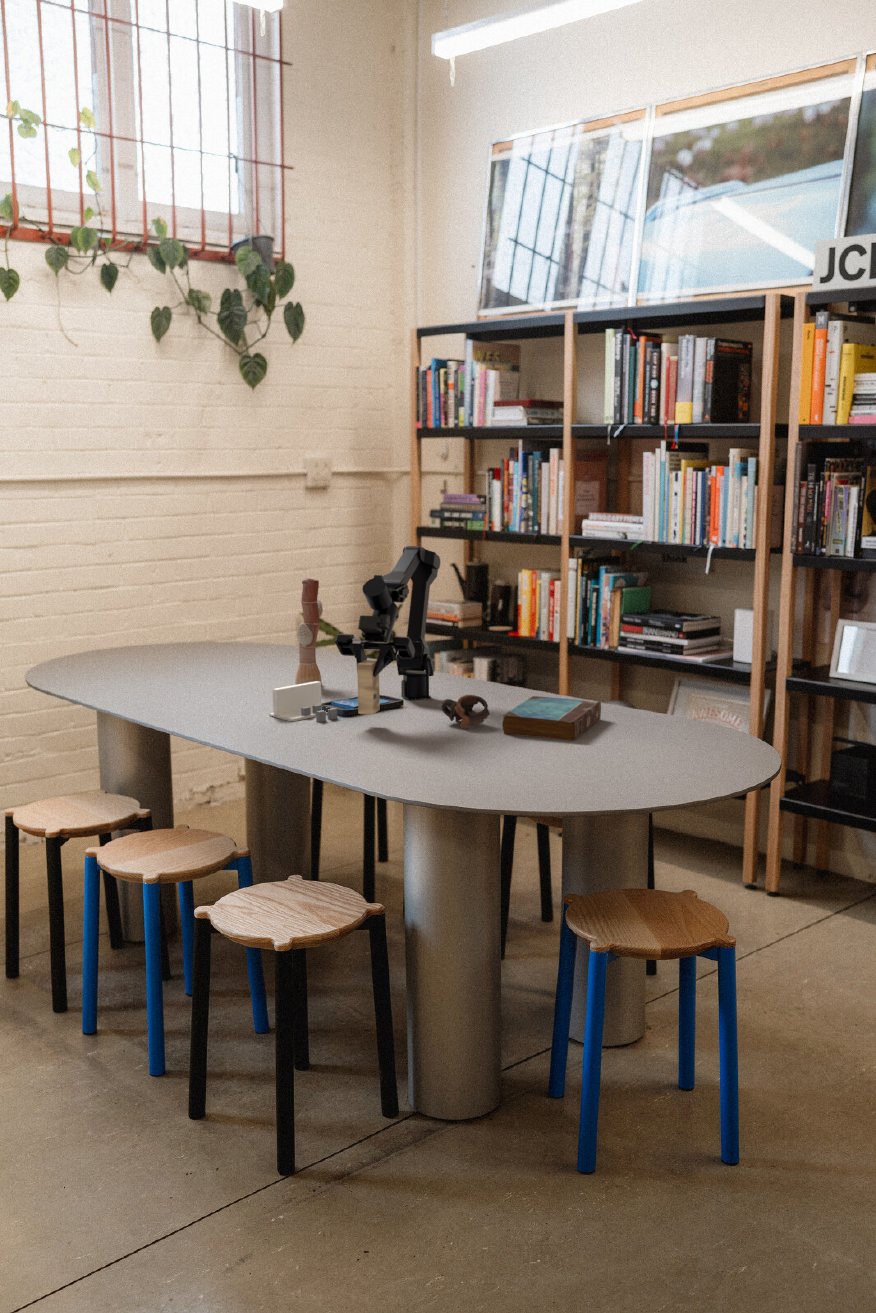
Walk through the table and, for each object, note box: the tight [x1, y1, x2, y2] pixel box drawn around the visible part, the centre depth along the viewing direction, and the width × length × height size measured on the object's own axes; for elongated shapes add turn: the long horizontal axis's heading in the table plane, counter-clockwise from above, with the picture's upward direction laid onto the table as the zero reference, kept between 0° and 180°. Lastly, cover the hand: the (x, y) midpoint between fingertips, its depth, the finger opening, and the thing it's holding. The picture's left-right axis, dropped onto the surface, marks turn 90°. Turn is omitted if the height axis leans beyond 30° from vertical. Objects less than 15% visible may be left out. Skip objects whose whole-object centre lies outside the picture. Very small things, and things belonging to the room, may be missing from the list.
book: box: [501, 695, 602, 742], centre depth 280 cm, size 23×18×5 cm
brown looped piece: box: [440, 694, 491, 730], centre depth 282 cm, size 12×10×8 cm
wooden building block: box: [356, 659, 381, 716], centre depth 279 cm, size 5×4×12 cm
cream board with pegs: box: [268, 681, 338, 723], centre depth 292 cm, size 14×14×7 cm
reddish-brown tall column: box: [294, 577, 324, 686], centre depth 328 cm, size 10×7×30 cm
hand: (366, 675), depth 278 cm, fingers closed on wooden building block, 3 cm apart
